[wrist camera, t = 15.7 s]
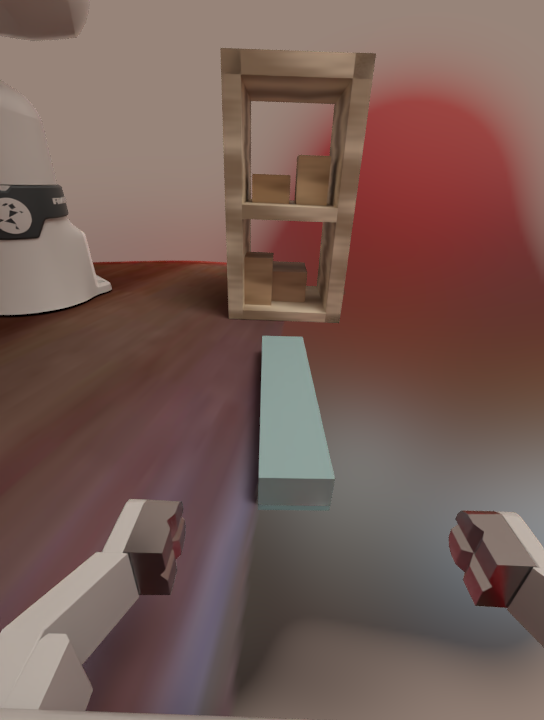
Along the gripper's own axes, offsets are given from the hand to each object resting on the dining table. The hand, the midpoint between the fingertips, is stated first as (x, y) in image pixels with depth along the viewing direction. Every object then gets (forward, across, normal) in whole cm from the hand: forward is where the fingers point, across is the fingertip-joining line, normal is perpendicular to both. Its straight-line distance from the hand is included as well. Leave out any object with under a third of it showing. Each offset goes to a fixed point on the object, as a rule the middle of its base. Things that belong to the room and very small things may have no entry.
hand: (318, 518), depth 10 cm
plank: (+15, 0, +7) cm, 17 cm away
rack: (+39, 0, +6) cm, 40 cm away
